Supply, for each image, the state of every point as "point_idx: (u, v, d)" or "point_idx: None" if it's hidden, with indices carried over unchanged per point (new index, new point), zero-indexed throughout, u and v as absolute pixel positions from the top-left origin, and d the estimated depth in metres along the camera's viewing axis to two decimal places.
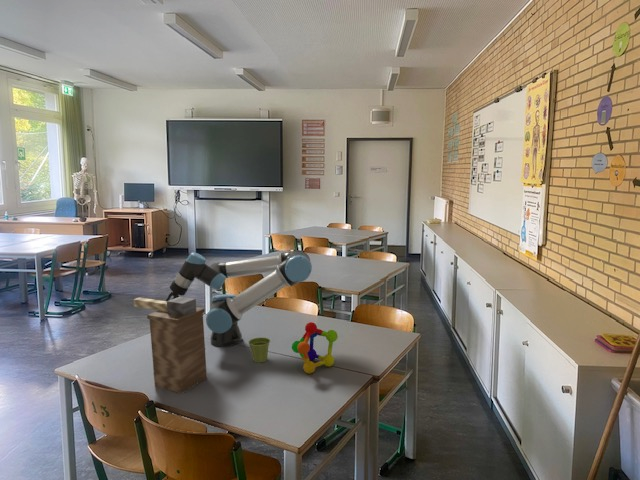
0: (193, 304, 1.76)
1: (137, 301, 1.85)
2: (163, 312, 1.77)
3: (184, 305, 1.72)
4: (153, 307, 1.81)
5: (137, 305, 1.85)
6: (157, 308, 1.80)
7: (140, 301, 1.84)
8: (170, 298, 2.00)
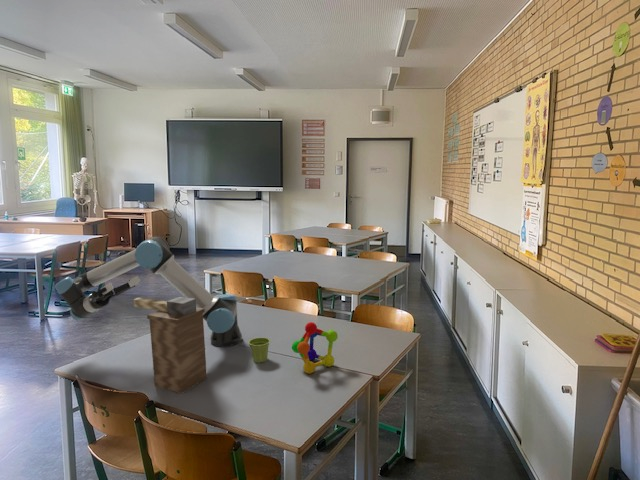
0: (193, 304, 1.76)
1: (137, 301, 1.85)
2: (163, 312, 1.77)
3: (184, 305, 1.72)
4: (153, 307, 1.81)
5: (137, 305, 1.85)
6: (157, 308, 1.80)
7: (140, 301, 1.84)
8: (90, 300, 1.90)
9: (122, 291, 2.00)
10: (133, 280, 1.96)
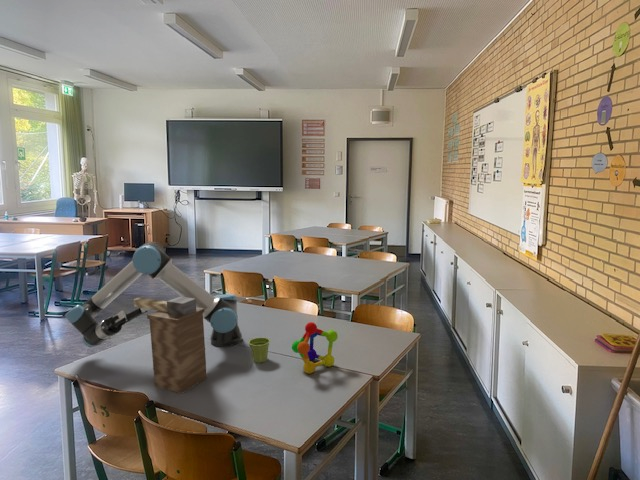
0: (193, 304, 1.76)
1: (137, 301, 1.85)
2: (163, 312, 1.77)
3: (184, 305, 1.72)
4: (153, 307, 1.81)
5: (137, 305, 1.85)
6: (157, 308, 1.80)
7: (140, 301, 1.84)
8: (102, 328, 1.88)
9: (134, 317, 1.98)
10: None
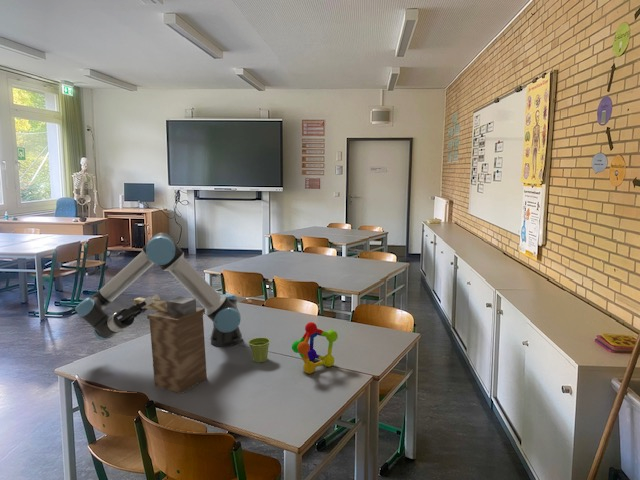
0: (193, 304, 1.76)
1: (137, 301, 1.85)
2: (163, 312, 1.77)
3: (184, 305, 1.72)
4: (153, 307, 1.81)
5: None
6: (157, 308, 1.80)
7: (140, 301, 1.84)
8: (119, 318, 1.84)
9: (145, 309, 1.92)
10: None
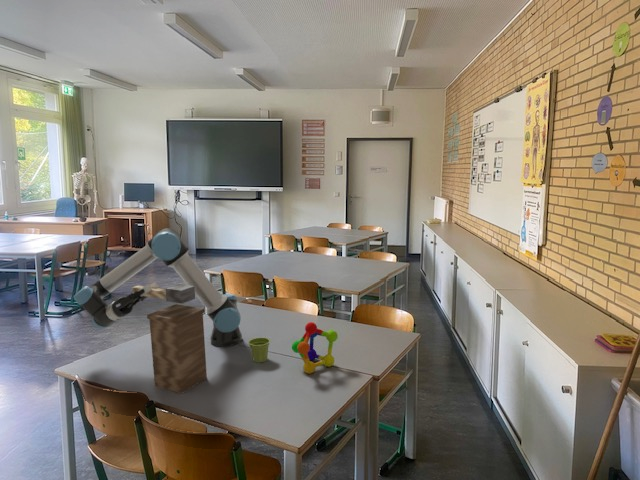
0: (192, 291, 1.76)
1: (136, 289, 1.84)
2: (163, 312, 1.77)
3: (183, 292, 1.71)
4: (152, 295, 1.80)
5: None
6: (156, 296, 1.80)
7: (139, 289, 1.83)
8: (117, 306, 1.83)
9: (143, 298, 1.91)
10: None
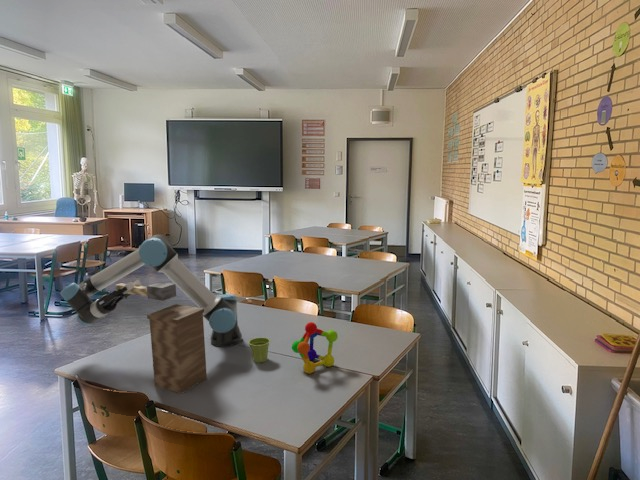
0: (173, 289, 1.80)
1: (119, 287, 1.88)
2: (163, 312, 1.77)
3: (164, 289, 1.76)
4: (134, 292, 1.85)
5: None
6: (138, 293, 1.84)
7: (122, 286, 1.87)
8: (101, 303, 1.87)
9: (127, 295, 1.95)
10: (134, 284, 1.88)
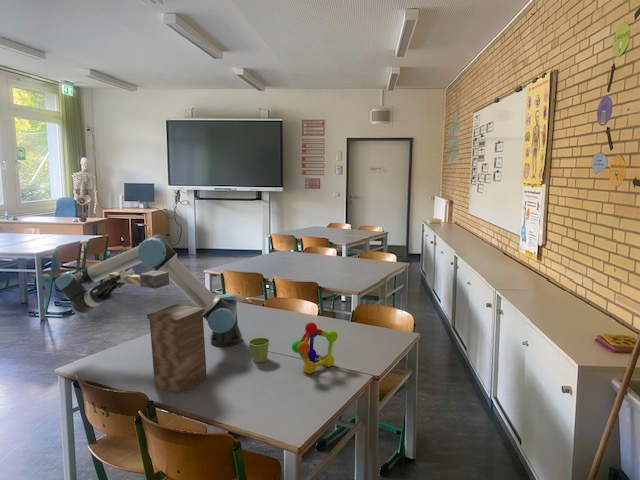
0: (166, 277, 1.81)
1: (112, 275, 1.89)
2: (163, 312, 1.77)
3: (156, 277, 1.76)
4: (127, 281, 1.85)
5: None
6: (131, 282, 1.85)
7: (115, 275, 1.88)
8: (94, 292, 1.88)
9: (121, 284, 1.96)
10: (127, 273, 1.89)
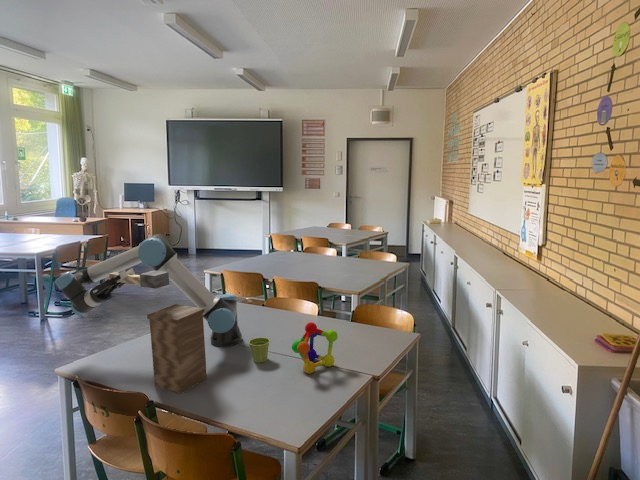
0: (166, 277, 1.81)
1: (112, 275, 1.89)
2: (163, 312, 1.77)
3: (156, 277, 1.76)
4: (127, 281, 1.85)
5: None
6: (131, 282, 1.85)
7: (115, 275, 1.88)
8: (94, 292, 1.88)
9: (121, 284, 1.96)
10: (127, 273, 1.89)
